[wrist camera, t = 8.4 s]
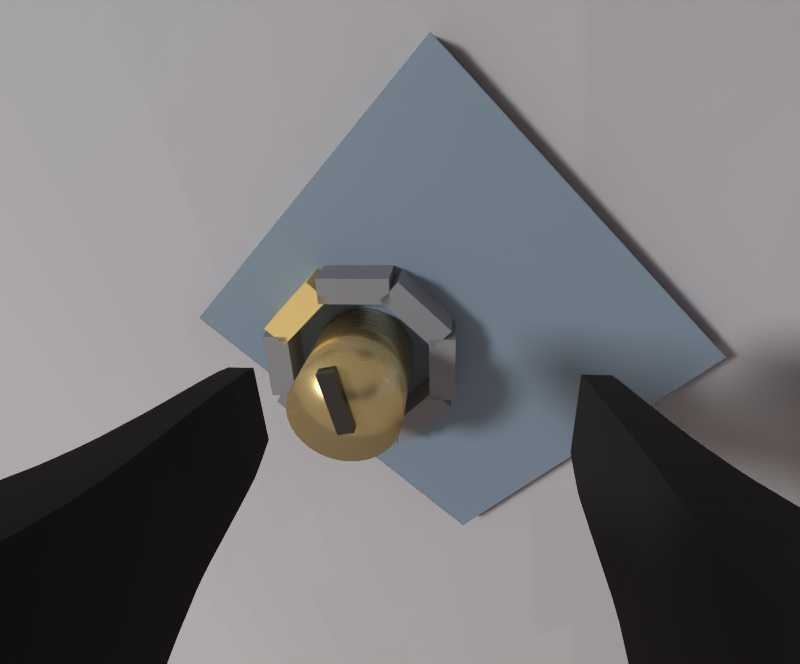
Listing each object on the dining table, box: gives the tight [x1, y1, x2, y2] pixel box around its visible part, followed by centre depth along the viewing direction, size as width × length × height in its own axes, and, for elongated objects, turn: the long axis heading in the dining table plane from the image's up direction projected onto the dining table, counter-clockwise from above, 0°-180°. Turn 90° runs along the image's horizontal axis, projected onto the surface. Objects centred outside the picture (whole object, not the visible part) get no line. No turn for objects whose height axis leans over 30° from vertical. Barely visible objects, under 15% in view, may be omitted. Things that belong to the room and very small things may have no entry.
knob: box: [286, 308, 414, 461], centre depth 18 cm, size 4×4×5 cm
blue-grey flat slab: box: [200, 32, 726, 525], centre depth 19 cm, size 16×14×2 cm
